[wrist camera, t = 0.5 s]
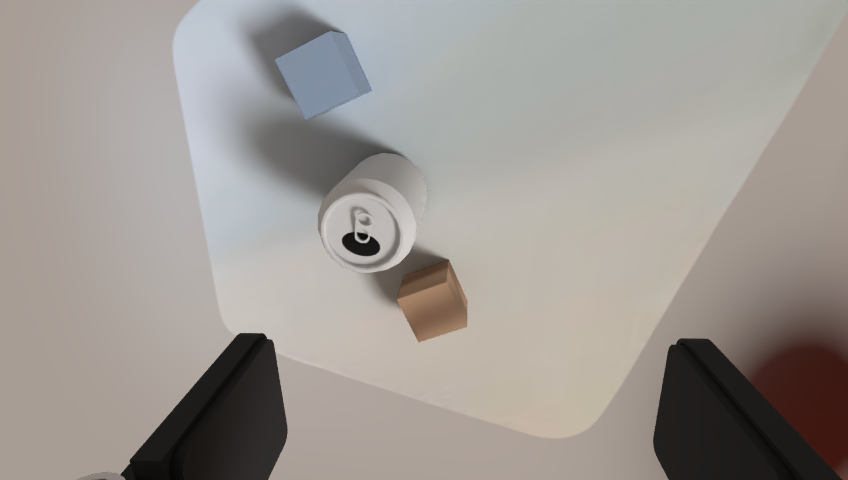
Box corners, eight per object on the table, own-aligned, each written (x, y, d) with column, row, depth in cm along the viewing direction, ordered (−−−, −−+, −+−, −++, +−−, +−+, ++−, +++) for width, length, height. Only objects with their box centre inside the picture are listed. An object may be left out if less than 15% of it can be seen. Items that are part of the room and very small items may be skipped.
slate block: (297, 59, 40) (274, 59, 36) (346, 34, 39) (330, 30, 35) (323, 113, 42) (305, 120, 37) (372, 90, 41) (359, 94, 36)
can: (344, 216, 45) (303, 268, 34) (358, 142, 42) (318, 172, 31) (418, 235, 45) (401, 293, 34) (436, 162, 42) (424, 199, 31)
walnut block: (403, 275, 47) (396, 299, 43) (448, 259, 46) (446, 282, 41) (423, 315, 49) (418, 342, 44) (467, 300, 48) (467, 326, 43)
